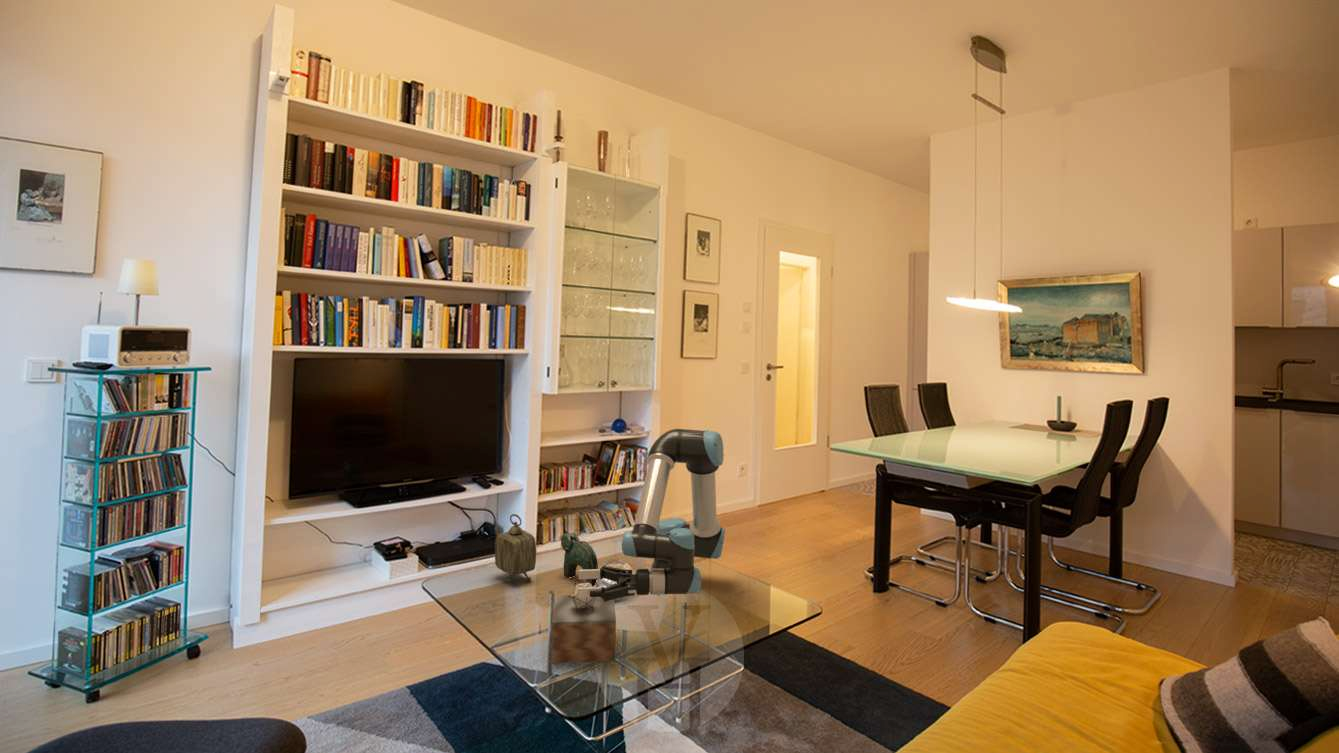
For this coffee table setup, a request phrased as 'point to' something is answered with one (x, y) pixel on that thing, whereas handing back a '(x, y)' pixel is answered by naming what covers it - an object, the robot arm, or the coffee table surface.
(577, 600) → the geometric polyhedron ornament
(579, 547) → the green elephant figurine
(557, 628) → the walnut crate
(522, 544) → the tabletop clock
